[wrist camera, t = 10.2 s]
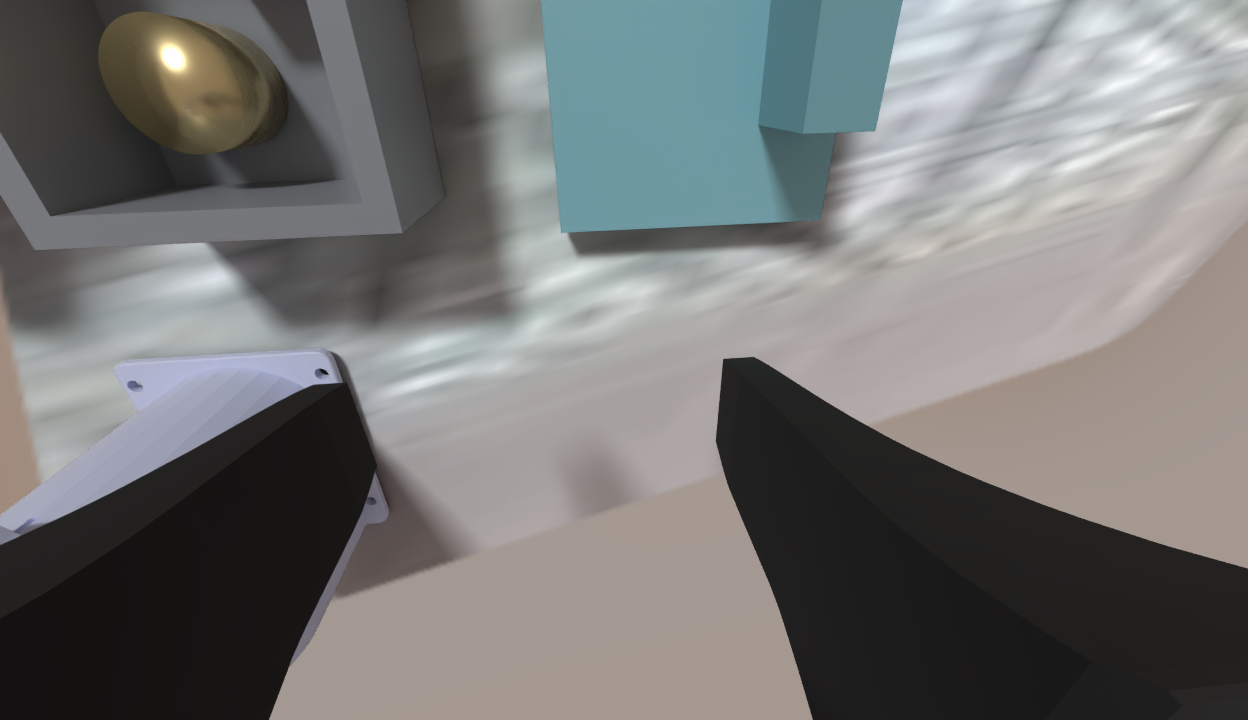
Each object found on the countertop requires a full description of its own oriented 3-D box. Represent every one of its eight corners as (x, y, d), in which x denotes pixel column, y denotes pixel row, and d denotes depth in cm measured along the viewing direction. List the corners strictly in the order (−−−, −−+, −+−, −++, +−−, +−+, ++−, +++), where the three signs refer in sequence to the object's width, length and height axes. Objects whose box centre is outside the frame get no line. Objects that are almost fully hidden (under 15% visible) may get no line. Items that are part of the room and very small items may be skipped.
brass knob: (303, 144, 15) (262, 152, 13) (197, 147, 15) (138, 156, 13) (265, 22, 14) (211, 10, 12) (146, 24, 14) (70, 12, 12)
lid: (802, 210, 19) (872, 247, 15) (561, 221, 18) (559, 264, 14) (866, -210, 13) (1013, -358, 9) (524, -217, 13) (500, -380, 8)
